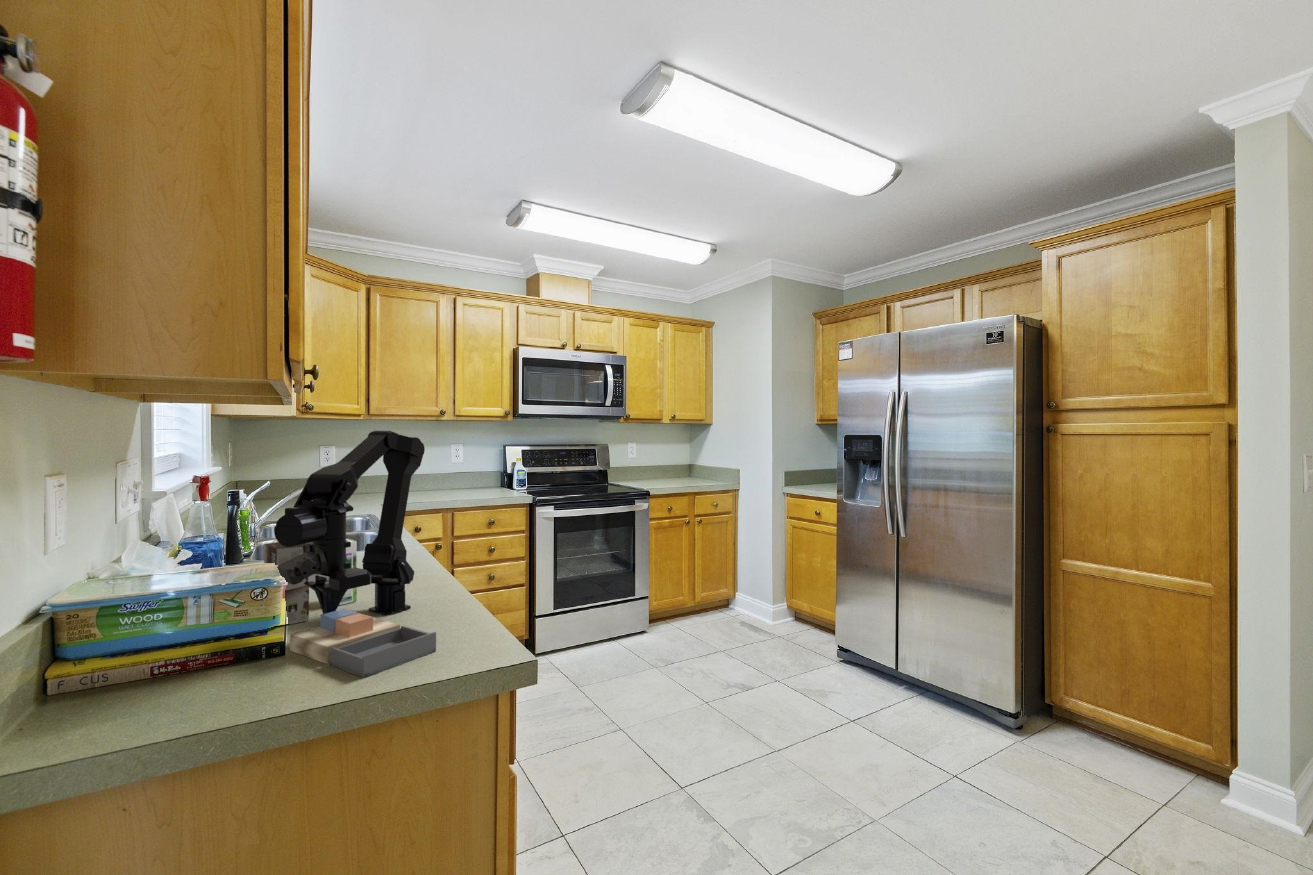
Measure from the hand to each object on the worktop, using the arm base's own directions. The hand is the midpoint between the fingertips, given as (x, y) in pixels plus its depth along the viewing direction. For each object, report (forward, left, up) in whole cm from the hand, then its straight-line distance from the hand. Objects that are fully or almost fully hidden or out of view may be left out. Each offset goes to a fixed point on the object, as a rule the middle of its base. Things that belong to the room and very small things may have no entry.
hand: (328, 618), depth 114 cm
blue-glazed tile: (+3, 0, -1) cm, 3 cm away
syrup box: (-22, +15, -4) cm, 27 cm away
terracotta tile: (+8, 0, -1) cm, 8 cm away
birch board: (+6, 0, -4) cm, 7 cm away
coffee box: (-19, +2, -4) cm, 20 cm away
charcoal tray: (+17, 0, -4) cm, 18 cm away
